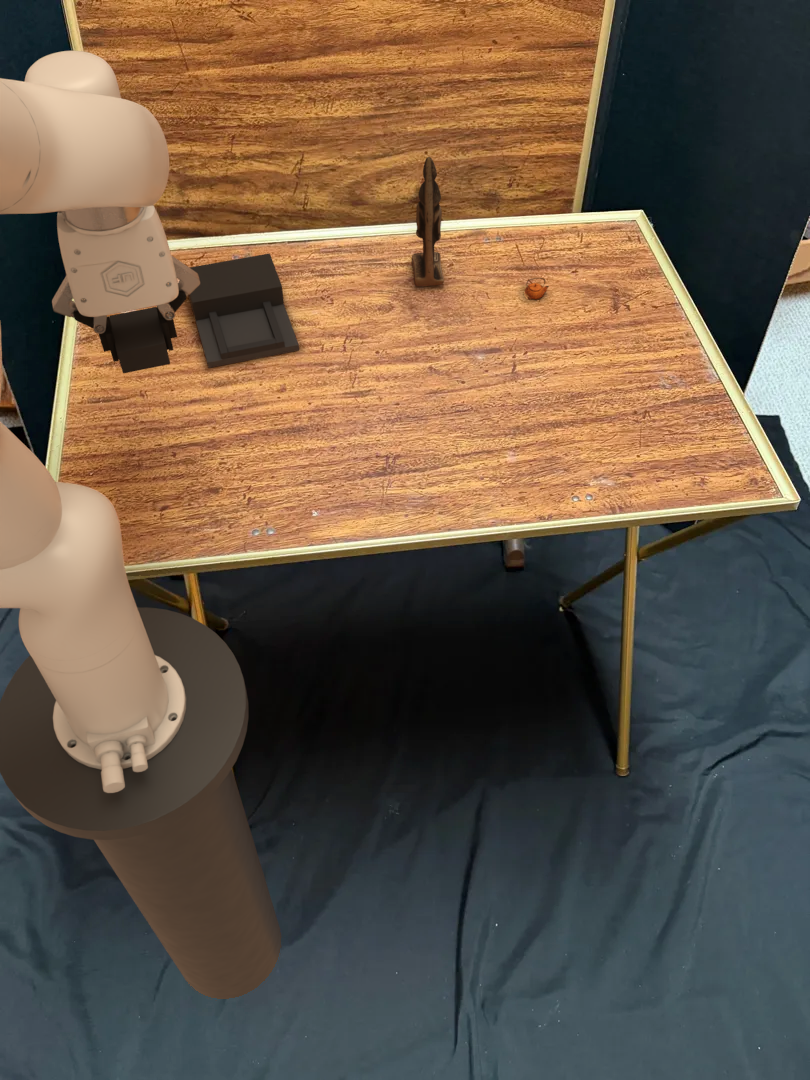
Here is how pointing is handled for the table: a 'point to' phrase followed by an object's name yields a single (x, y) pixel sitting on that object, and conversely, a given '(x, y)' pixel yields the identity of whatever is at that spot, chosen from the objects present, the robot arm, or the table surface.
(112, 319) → the loose pad
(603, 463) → the table surface
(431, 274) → the statue
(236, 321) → the pad base
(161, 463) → the table surface
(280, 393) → the table surface
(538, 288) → the small kettle
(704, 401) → the table surface
